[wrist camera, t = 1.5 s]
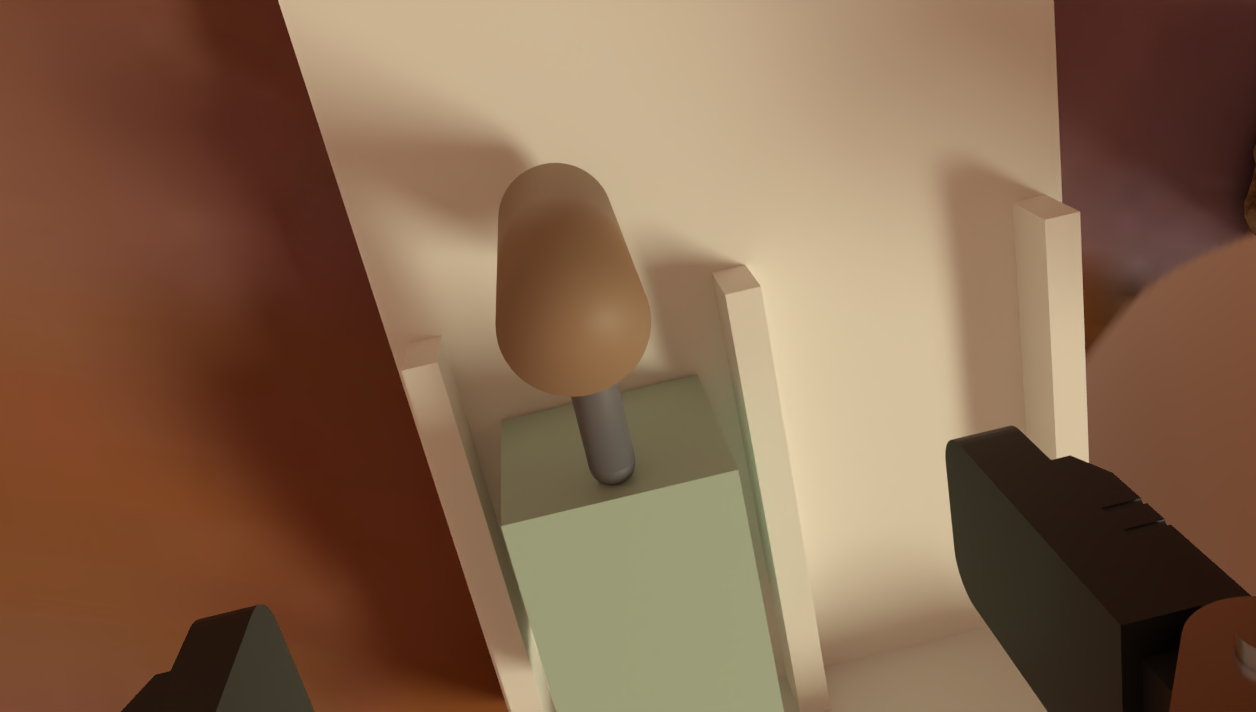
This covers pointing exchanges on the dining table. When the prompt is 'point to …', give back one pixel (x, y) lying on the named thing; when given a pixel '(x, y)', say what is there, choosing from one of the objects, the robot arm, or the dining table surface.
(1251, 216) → the brown tall faceted piece
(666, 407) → the pull block
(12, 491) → the dining table surface
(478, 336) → the shelf
